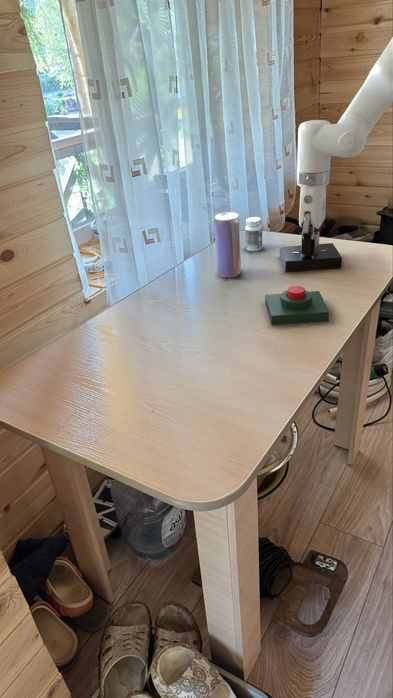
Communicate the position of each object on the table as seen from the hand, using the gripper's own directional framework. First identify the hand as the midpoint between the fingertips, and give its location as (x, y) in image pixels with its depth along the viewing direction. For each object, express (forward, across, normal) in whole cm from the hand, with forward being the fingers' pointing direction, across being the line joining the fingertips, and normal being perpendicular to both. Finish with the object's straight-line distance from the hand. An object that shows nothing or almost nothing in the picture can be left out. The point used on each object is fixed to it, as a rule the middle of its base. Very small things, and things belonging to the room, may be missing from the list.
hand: (309, 249), depth 131 cm
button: (0, -27, -3) cm, 27 cm away
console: (+4, 0, 0) cm, 4 cm away
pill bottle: (+4, +7, +17) cm, 19 cm away
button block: (+4, -27, -3) cm, 27 cm away
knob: (+1, 0, 0) cm, 1 cm away
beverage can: (+4, -11, +18) cm, 22 cm away
